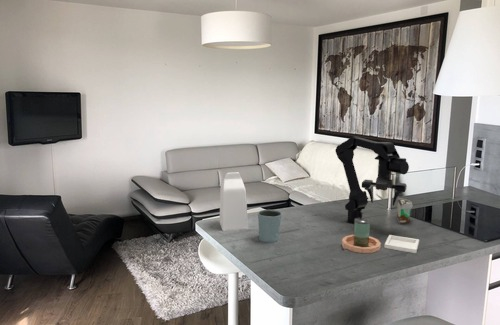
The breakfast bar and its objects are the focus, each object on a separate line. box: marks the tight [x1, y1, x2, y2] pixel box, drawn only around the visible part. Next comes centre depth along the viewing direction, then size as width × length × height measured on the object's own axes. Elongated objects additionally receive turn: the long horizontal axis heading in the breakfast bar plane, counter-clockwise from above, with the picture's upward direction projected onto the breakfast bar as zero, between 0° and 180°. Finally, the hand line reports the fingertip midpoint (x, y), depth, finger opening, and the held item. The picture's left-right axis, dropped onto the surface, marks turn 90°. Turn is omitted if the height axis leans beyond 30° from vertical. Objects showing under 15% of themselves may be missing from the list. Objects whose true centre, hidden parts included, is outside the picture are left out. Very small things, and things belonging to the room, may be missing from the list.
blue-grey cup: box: [257, 209, 282, 244], centre depth 173 cm, size 10×10×12 cm
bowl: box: [341, 234, 382, 254], centre depth 165 cm, size 15×15×3 cm
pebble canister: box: [353, 217, 371, 247], centre depth 164 cm, size 6×6×11 cm
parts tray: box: [384, 234, 420, 254], centre depth 165 cm, size 12×12×2 cm
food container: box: [396, 197, 414, 225], centre depth 197 cm, size 12×6×10 cm, turn 168°
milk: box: [219, 171, 249, 232], centre depth 189 cm, size 12×12×26 cm
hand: (382, 203), depth 181 cm, fingers open, 9 cm apart
